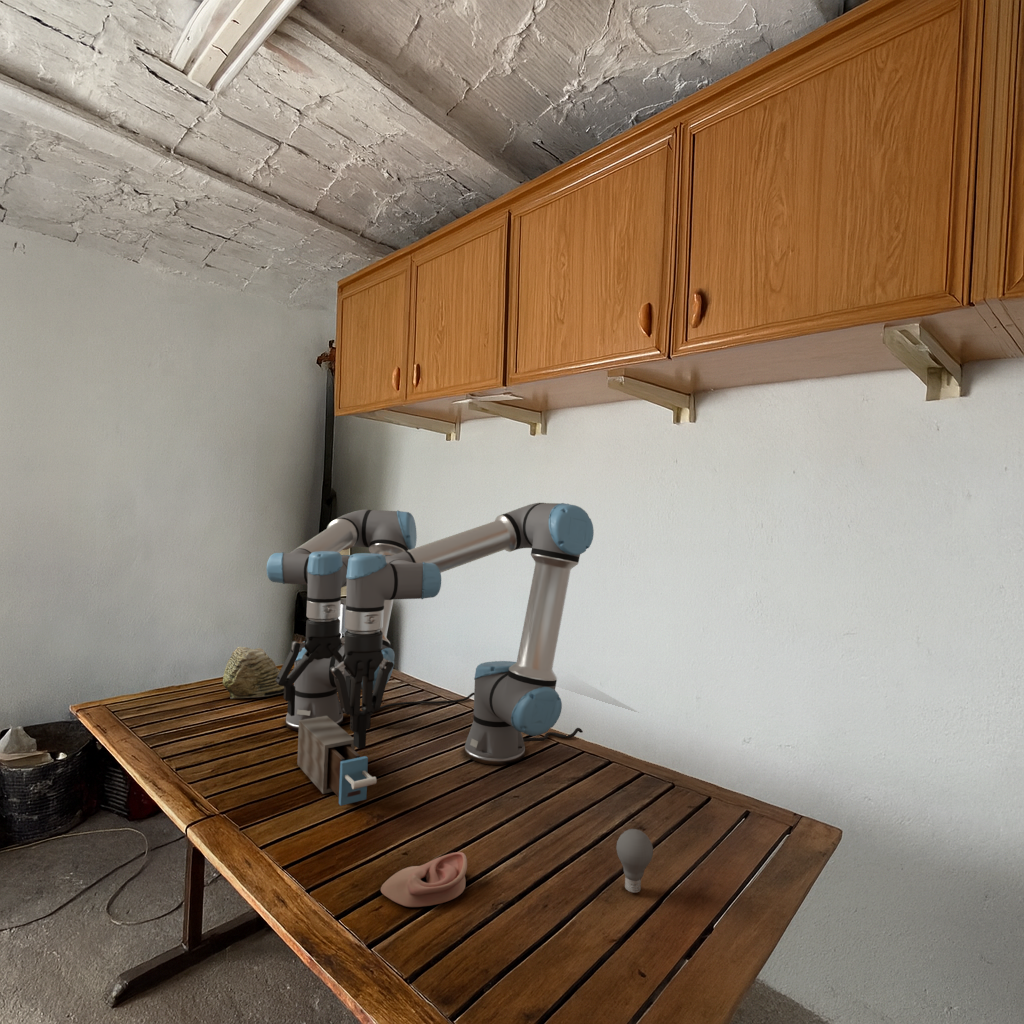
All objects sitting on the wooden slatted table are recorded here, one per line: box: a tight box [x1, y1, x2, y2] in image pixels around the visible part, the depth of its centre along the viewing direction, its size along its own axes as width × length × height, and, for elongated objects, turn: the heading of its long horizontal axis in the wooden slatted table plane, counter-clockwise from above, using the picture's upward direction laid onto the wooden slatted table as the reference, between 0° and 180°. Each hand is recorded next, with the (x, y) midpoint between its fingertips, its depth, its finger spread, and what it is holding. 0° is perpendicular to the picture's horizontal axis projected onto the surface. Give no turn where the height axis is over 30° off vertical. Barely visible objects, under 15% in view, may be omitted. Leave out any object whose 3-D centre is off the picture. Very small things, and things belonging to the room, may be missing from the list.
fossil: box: [222, 646, 284, 699], centre depth 198 cm, size 9×18×15 cm, turn 132°
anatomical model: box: [380, 851, 468, 908], centre depth 104 cm, size 13×4×12 cm
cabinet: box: [296, 716, 356, 795], centre depth 144 cm, size 17×7×10 cm, turn 36°
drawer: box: [327, 744, 378, 807], centre depth 134 cm, size 22×6×9 cm, turn 36°
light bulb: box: [615, 828, 654, 894], centre depth 106 cm, size 6×6×10 cm
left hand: (320, 709), depth 147 cm, fingers open, 13 cm apart
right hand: (359, 745), depth 128 cm, fingers closed
